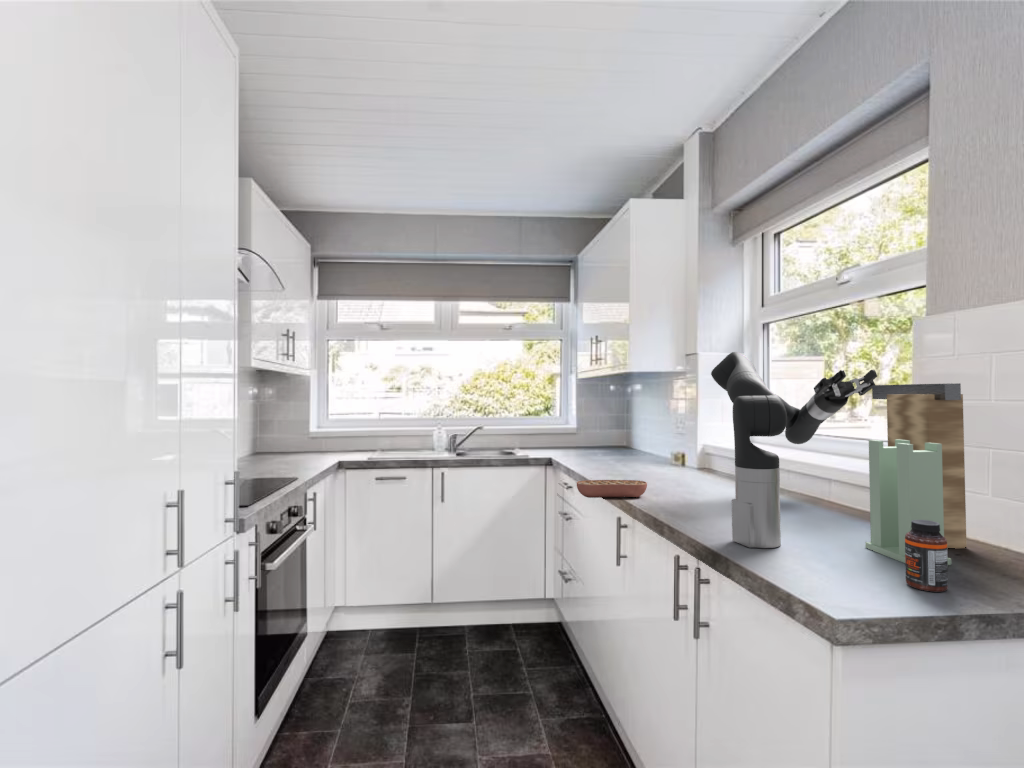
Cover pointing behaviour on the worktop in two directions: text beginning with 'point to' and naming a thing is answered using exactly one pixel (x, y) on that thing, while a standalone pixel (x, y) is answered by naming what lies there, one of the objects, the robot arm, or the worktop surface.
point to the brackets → (903, 493)
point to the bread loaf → (611, 488)
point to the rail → (919, 390)
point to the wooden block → (942, 425)
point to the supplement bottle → (926, 557)
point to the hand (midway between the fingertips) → (859, 372)
